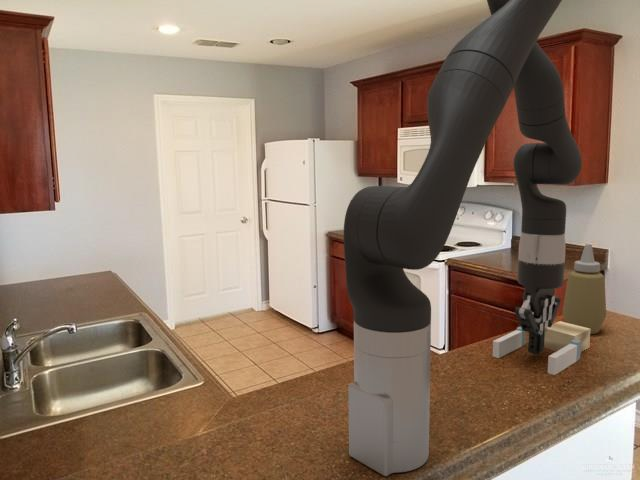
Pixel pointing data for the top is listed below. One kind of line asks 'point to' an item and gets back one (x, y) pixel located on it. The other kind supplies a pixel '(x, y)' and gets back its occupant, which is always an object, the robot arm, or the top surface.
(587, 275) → the squeeze bottle
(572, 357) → the corridor
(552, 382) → the top surface
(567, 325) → the maple block
